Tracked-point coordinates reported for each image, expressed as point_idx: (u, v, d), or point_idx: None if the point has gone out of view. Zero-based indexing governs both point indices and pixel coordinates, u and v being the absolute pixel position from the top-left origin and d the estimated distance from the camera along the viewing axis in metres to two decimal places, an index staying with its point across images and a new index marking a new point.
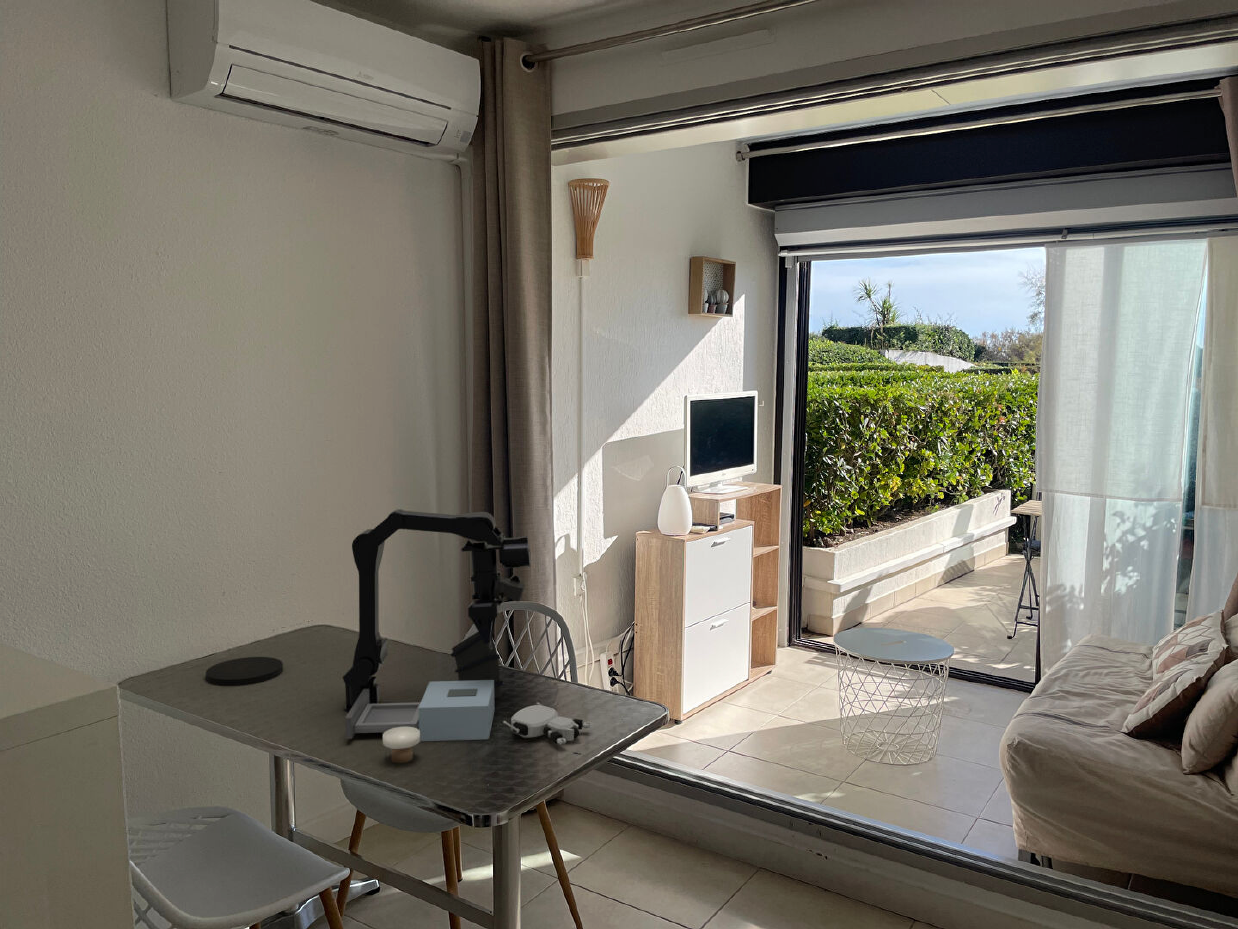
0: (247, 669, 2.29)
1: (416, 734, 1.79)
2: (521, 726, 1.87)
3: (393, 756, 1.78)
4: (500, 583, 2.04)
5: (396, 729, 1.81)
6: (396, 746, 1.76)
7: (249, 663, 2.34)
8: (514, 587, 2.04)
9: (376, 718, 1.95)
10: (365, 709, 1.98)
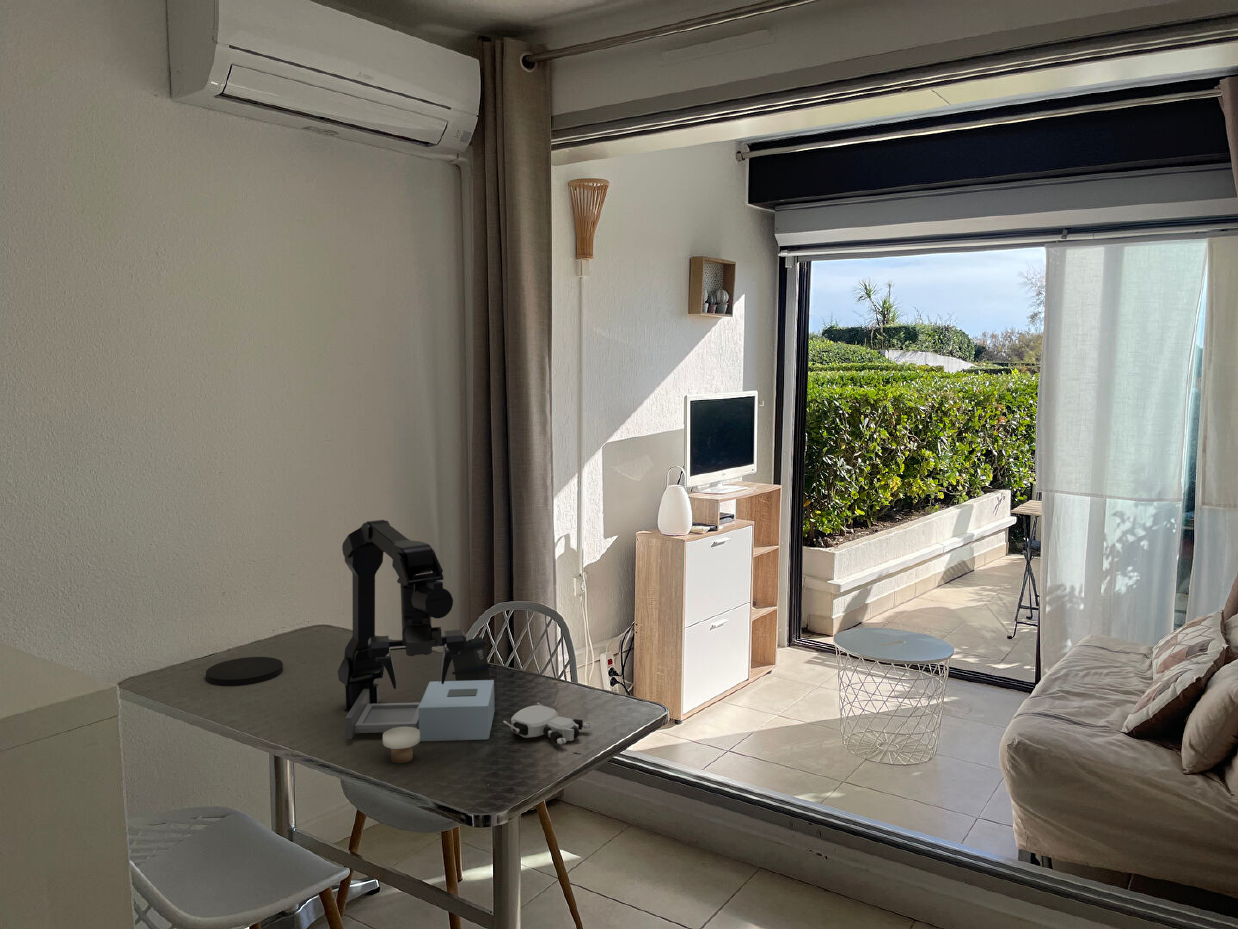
0: (247, 669, 2.29)
1: (416, 734, 1.79)
2: (521, 726, 1.87)
3: (393, 756, 1.78)
4: (406, 628, 1.78)
5: (396, 729, 1.81)
6: (396, 746, 1.76)
7: (249, 663, 2.34)
8: (405, 637, 1.75)
9: (376, 718, 1.95)
10: (365, 709, 1.98)
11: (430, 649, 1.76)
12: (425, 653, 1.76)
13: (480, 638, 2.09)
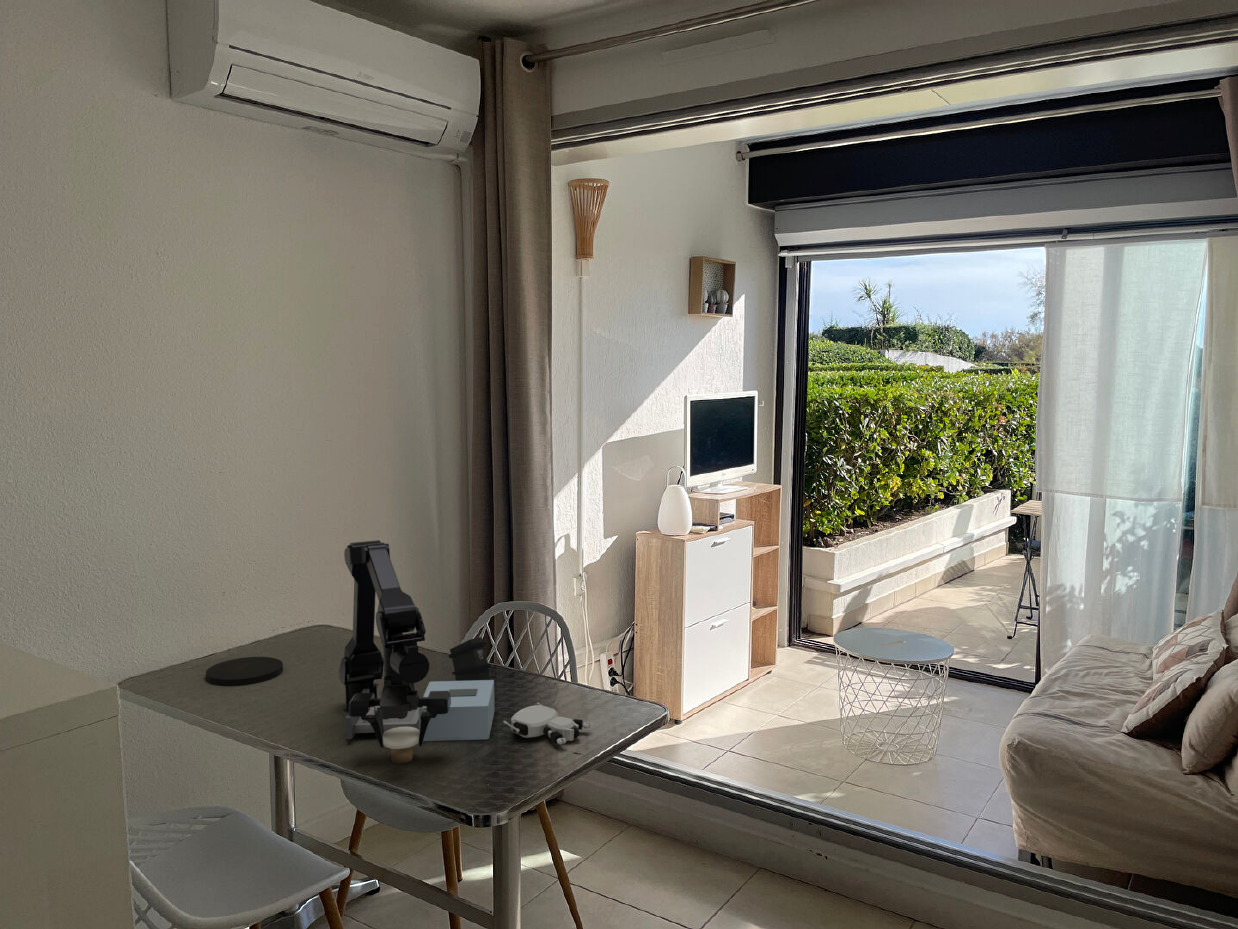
0: (247, 669, 2.29)
1: (416, 734, 1.79)
2: (521, 726, 1.87)
3: (393, 756, 1.78)
4: (385, 689, 1.75)
5: (396, 729, 1.81)
6: (396, 746, 1.76)
7: (249, 663, 2.34)
8: (380, 700, 1.72)
9: None
10: None
11: (404, 713, 1.71)
12: (399, 717, 1.71)
13: (480, 638, 2.09)
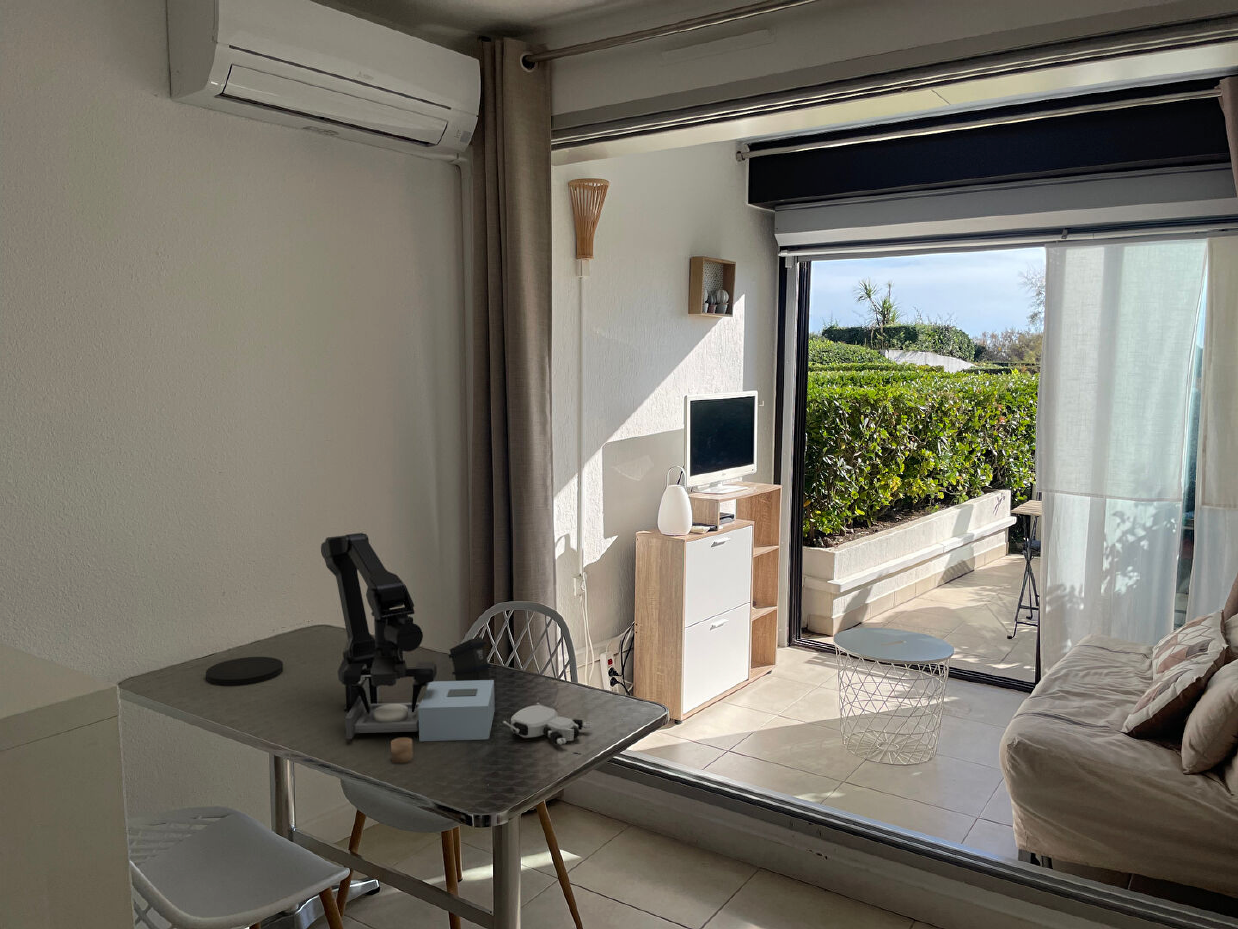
0: (247, 669, 2.29)
1: (404, 710, 1.95)
2: (521, 726, 1.87)
3: (393, 756, 1.78)
4: (375, 659, 1.91)
5: (386, 706, 1.97)
6: (386, 721, 1.92)
7: (249, 663, 2.34)
8: None
9: None
10: (365, 709, 1.98)
11: (393, 681, 1.87)
12: (389, 684, 1.87)
13: (480, 638, 2.09)
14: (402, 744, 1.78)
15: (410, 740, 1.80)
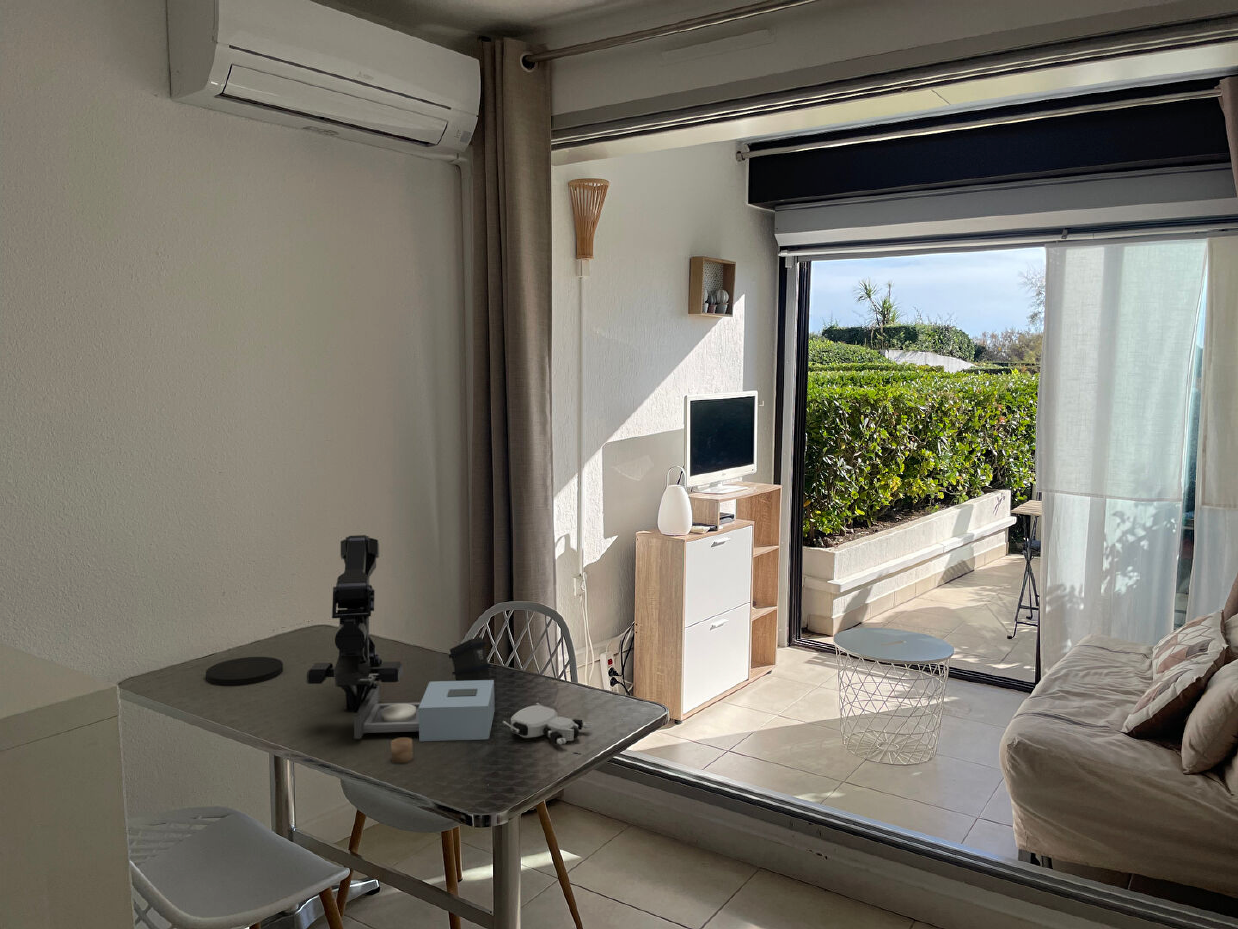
0: (247, 669, 2.29)
1: (412, 710, 1.95)
2: (521, 726, 1.87)
3: (393, 756, 1.78)
4: (340, 658, 1.90)
5: (394, 706, 1.98)
6: (394, 721, 1.92)
7: (249, 663, 2.34)
8: (335, 668, 1.87)
9: None
10: (373, 709, 1.98)
11: (356, 680, 1.87)
12: (352, 684, 1.87)
13: (480, 638, 2.09)
14: (402, 744, 1.78)
15: (410, 740, 1.80)
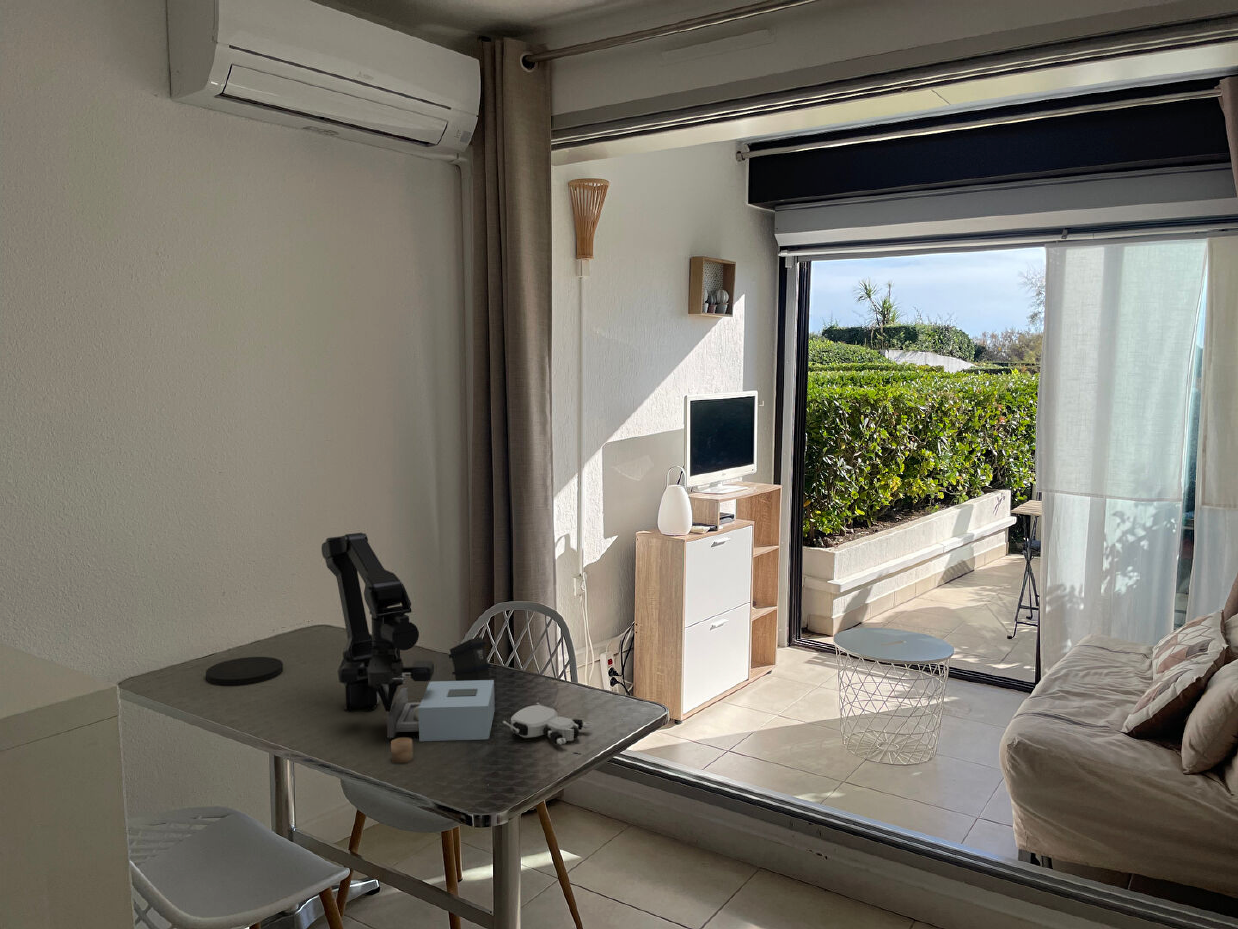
0: (247, 669, 2.29)
1: None
2: (521, 726, 1.87)
3: (393, 756, 1.78)
4: (372, 657, 1.91)
5: None
6: None
7: (249, 663, 2.34)
8: (368, 667, 1.88)
9: None
10: (404, 708, 1.98)
11: (390, 679, 1.87)
12: (385, 683, 1.87)
13: (480, 638, 2.09)
14: (402, 744, 1.78)
15: (410, 740, 1.80)
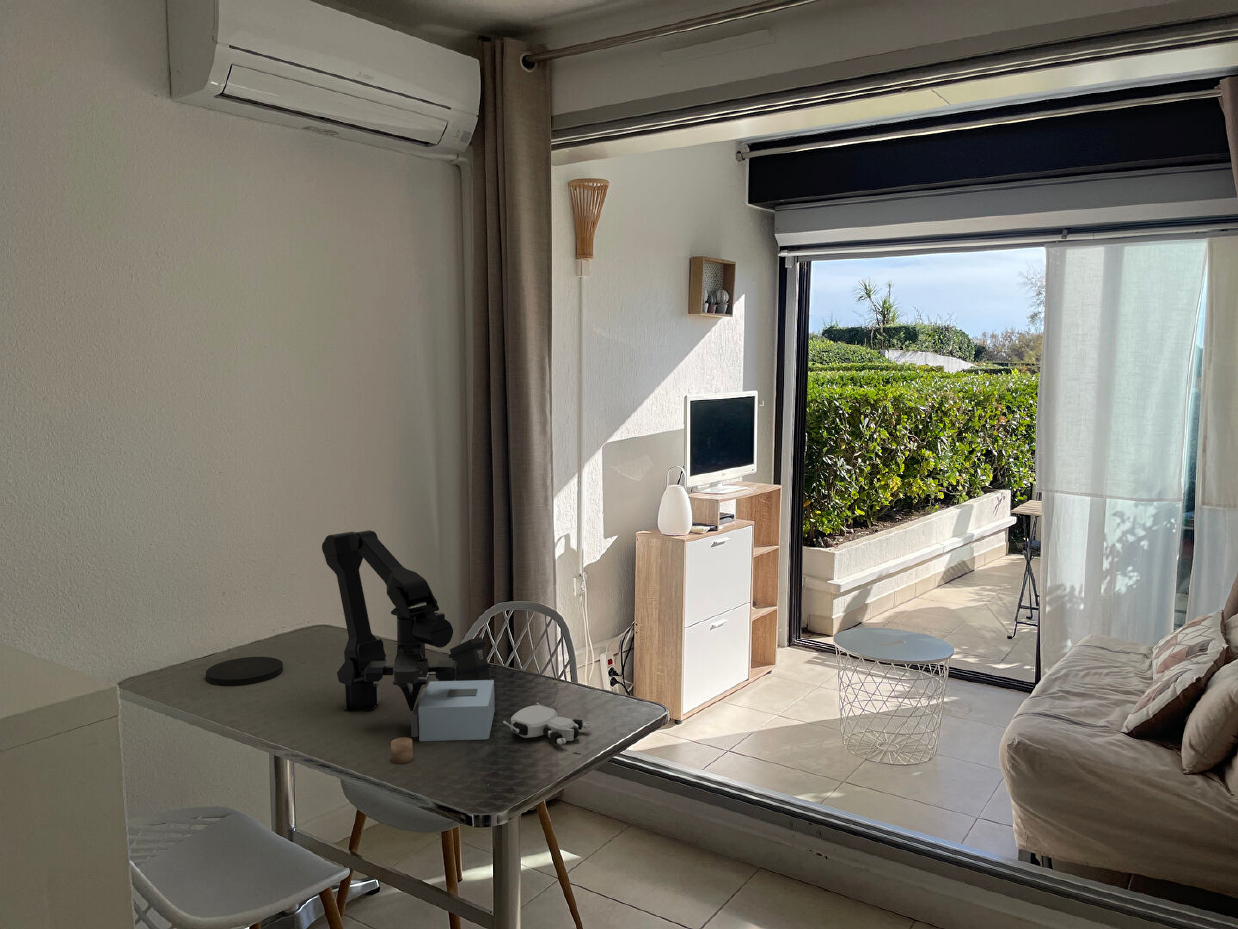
0: (247, 669, 2.29)
1: None
2: (521, 726, 1.87)
3: (393, 756, 1.78)
4: (398, 656, 1.91)
5: None
6: None
7: (249, 663, 2.34)
8: (394, 666, 1.88)
9: None
10: None
11: (415, 679, 1.87)
12: (411, 682, 1.87)
13: (480, 638, 2.09)
14: (402, 744, 1.78)
15: (410, 740, 1.80)
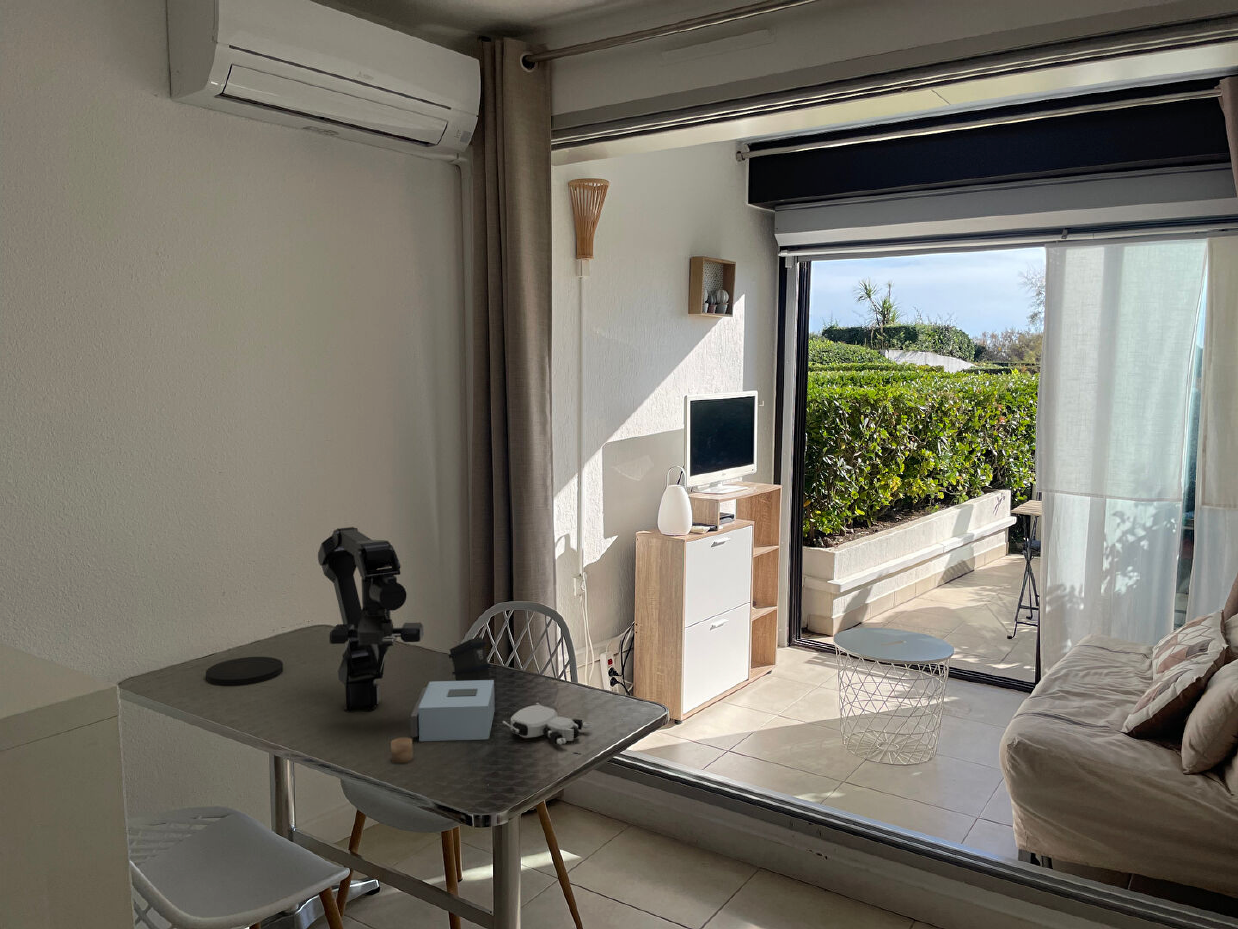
0: (247, 669, 2.29)
1: None
2: (521, 726, 1.87)
3: (393, 756, 1.78)
4: (362, 618, 1.93)
5: None
6: None
7: (249, 663, 2.34)
8: None
9: None
10: None
11: (380, 639, 1.89)
12: (375, 643, 1.89)
13: (480, 638, 2.09)
14: (402, 744, 1.78)
15: (410, 740, 1.80)
